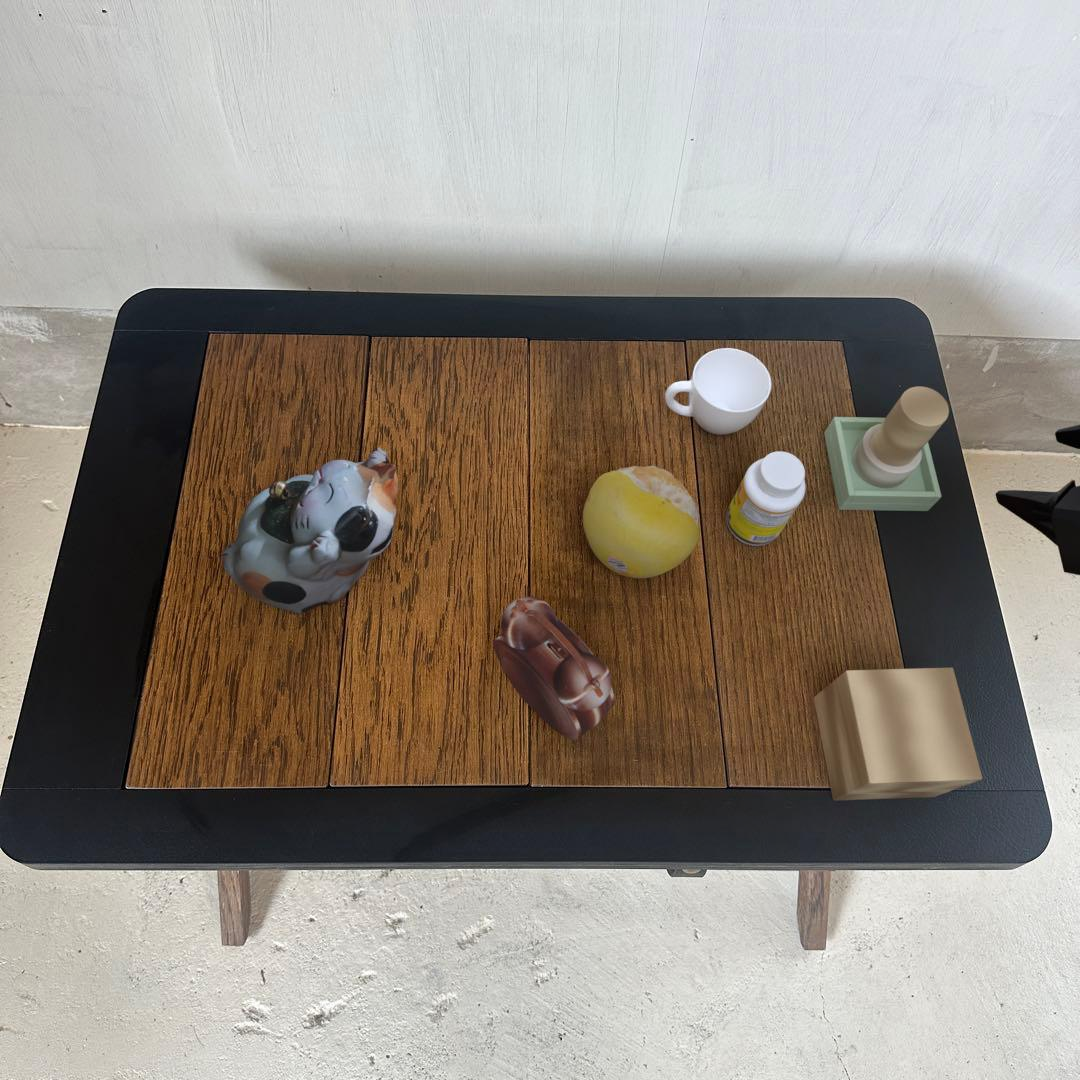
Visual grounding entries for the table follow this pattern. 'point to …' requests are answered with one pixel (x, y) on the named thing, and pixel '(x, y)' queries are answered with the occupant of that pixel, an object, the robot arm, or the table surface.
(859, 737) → the stand
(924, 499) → the mint green tray
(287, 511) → the lucky cat figurine
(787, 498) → the supplement bottle
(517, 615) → the alarm clock
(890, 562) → the table surface
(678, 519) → the fruit
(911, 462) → the tan cylindrical piece
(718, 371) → the cup
